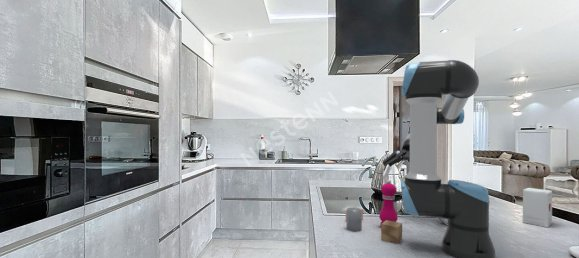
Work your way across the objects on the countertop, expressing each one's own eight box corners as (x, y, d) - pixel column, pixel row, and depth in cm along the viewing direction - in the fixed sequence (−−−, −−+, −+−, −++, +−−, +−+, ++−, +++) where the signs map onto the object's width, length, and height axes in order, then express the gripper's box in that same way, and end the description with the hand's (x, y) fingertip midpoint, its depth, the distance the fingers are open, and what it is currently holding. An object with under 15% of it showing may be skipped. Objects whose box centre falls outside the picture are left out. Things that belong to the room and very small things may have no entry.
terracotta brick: (362, 220, 132) (363, 209, 132) (353, 224, 126) (353, 212, 126) (355, 218, 135) (355, 207, 135) (345, 221, 129) (345, 210, 129)
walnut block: (402, 239, 109) (402, 223, 109) (398, 244, 104) (398, 227, 104) (385, 235, 112) (385, 220, 112) (381, 240, 107) (381, 224, 107)
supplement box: (548, 228, 124) (548, 192, 124) (522, 222, 131) (522, 189, 131) (552, 223, 130) (552, 190, 130) (527, 219, 137) (527, 187, 137)
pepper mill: (377, 228, 120) (378, 180, 120) (380, 223, 126) (381, 177, 126) (396, 231, 116) (396, 181, 117) (398, 226, 123) (399, 179, 123)
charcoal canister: (364, 229, 119) (364, 209, 119) (356, 232, 115) (356, 212, 115) (351, 225, 123) (351, 206, 123) (343, 229, 119) (343, 209, 119)
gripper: (442, 151, 133) (430, 188, 122) (390, 148, 150) (375, 180, 140) (438, 139, 129) (426, 176, 118) (385, 138, 147) (370, 170, 136)
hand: (398, 179), depth 129 cm, fingers open, 13 cm apart
